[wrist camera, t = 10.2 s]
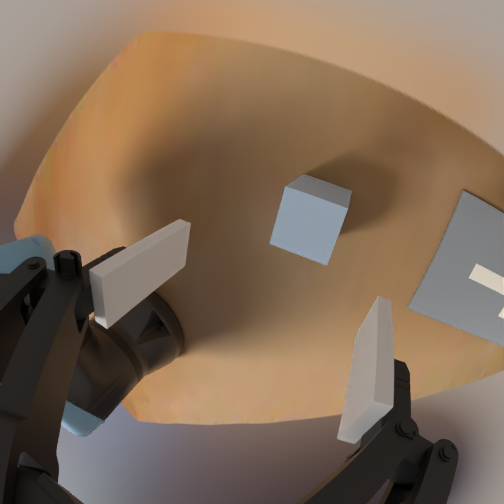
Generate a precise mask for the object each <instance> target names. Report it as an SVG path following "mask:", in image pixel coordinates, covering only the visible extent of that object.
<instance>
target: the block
mask: <svg viewBox="0 0 504 504" xmlns="http://www.w3.org/2000/svg"><path fill="white" fill-rule="evenodd" d="M351 193H352V191H351V190H348V189H345V188H343V187H340V186H337V185H334V184H332V183H329V182H326V181H323V180H320V179H317V178H314V177H312V176H309V175H306V174H302V175H301V176H299V177H298V178H296V179H295V180H294V181H292V182H291V183H289V184H288V185H286V186H285V189H284V193H283V196H282V200H281V203H280V207H279V211H278V214H277V218H276V221H275V225H274V229H273V232H272V236H271V239H270V243H269V244H271V245H274V246H277V247H279V248H282V249H284V250H287V251H290V252H292V253H295V254H297V255H300V256H303V257H305V258H308V259H310V260H313V261H316V262H318V263H321V264H323V265H326V266H327V264H328V261H329V259H330V256H331V254H332V251H333V249H334V246H335V243H336V241H337V238H338V235H339V233H340V230H341V227H342V225H343V222H344V219H345V216H346V213H347V211H348V207H349V203H350V198H351Z"/></svg>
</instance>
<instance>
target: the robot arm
mask: <svg viewBox="0 0 504 504" xmlns="http://www.w3.org/2000/svg"><path fill="white" fill-rule="evenodd" d="M190 227H191V223H189V222H186V221H184V220H181V219H178V220H176V221H174V222H172V223H171V224H169V225H167V226H165V227H163V228H161V229H159V230H158V231H156V232H154V233H152V234H150V235H149V236H147V237H145V238H143V239H141V240H140V241H138V242H136V243H134V244H132V245H131V246H129V247H127V248H126V247H124V246H123V247H119V248H115V249H113V250H111V251H109V252H107V253H106V254H104V255H102V256H100V258H97V259H95V260H93V261H92V262H90V263H88V264H87V265H85V266H83V267H82V262H81V256H80V254H79V253H78V252H76V251H73V250H64V251H60V252H58V253H56V251H55V248H54V246H53V243H52V242H51V240H50V239H49V238H48V237H47V236H45V235H41V234H38V235H34V236H30V237H27V238H24V239H20V240H17V241H14V242H11V243H8V244H5V245H3V246H0V383H1V384H0V504H84V503H82V502H81V501H80V500H78V499H77V498H76V497H75V496H74V495H72V494H71V493H70V492H69V491H68V490H66V489H65V488H63V487H62V486H61V485H59V484H58V475H59V464H58V460H57V456H56V450H57V443H58V438H59V432H60V427H61V425H62V426H63V427H65V428H66V429H67V430H68V431H70V432H71V433H73V434H75V435H77V436H82V437H84V436H88V435H89V434H91V433H92V432H93V431H94V430H95V429H96V428H97V427H98V426H99V425H101V424H103V423H104V422H105V421H104V420H105V419H106V418H107V417H108V416H109V415H110V414H111V413H112V411H113V410H114V409H115V408H116V407H117V406H118V405H119V404H120V403H121V401H122V400H123V399H124V398H125V397H126V396H127V395H128V394H129V393H130V391H131V390H132V389H133V388H134V387H135V386H136V385H137V384H138V382H139V381H140V380H141V379H142V378H143V377H144V376H146V375H148V374H150V373H152V372H154V371H156V370H158V369H160V368H162V367H164V366H166V365H168V364H170V363H171V362H172V361H173V360H174V359H175V358H176V357H177V356H178V355H179V353H180V352H181V351H182V348H183V344H184V338H183V332H182V329H181V326H180V324H179V321H178V320H177V318H176V316H175V314H174V313H173V311H172V310H171V309H170V307H169V306H168V305H167V304H166V303H165V301H164V300H163V299H162V298H161V297H159V296H158V295H157V294H156V293H155V292H153V291H154V290H156V289H157V288H158V287H159V286H161V285H162V284H163V283H164V282H166V281H167V280H168V279H169V278H171V277H172V276H173V275H174V274H176V273H177V272H178V271H179V270H181V269H182V268H183V267H185V264H186V256H187V248H188V241H189V234H190ZM93 311H94V316H93V317H92V319H90V320H89V314H91V313H92V312H93ZM418 430H419V429H418V427H417V424H416V423H415V422H414V421H413V419H412V418H411V395H410V372H409V370H408V368H407V366H406V363H405V362H402V361H399V360H396V359H394V344H393V322H392V308H391V300H388V299H385V298H383V297H380V296H377V298H376V299H375V301H374V303H373V305H372V307H371V309H370V311H369V312H368V314H367V316H366V318H365V320H364V321H363V323H362V325H361V327H360V328H359V330H358V332H357V334H356V335H355V342H354V349H353V356H352V363H351V369H350V376H349V382H348V387H347V393H346V398H345V403H344V409H343V413H342V419H341V423H340V428H339V432H338V437H337V439H339V440H342V441H346V442H350V443H353V444H355V443H356V442H357V441H358V440H359V439H360V438H361V437H362V439H361V444H360V447H359V448H358V449H357V450H355V451H354V452H353V453H352V454H351V455H349V456H348V457H347V459H346V460H345V461H344V462H343V463H342V464H341V465H340V466H339V467H338V468H337V469H335V470H334V471H333V472H332V473H331V474H330V475H329V476H327V477H326V478H325V479H324V480H323V481H322V482H320V483H319V484H318V485H317V486H316V487H315V488H313V489H312V490H311V491H310V492H308V493H307V494H306V495H304V496H303V497H302V498H301V499H299V500H298V501H297V502H295V503H294V504H366V503H367V502H368V501H369V500H370V499H371V498H372V497H373V496H374V495H375V494H376V492H377V491H378V490H379V489H380V488H381V486H382V485H383V484H384V483H385V482H386V480H387V479H390V481H389V484H388V486H387V488H386V490H385V492H384V494H383V496H382V498H381V500H380V502H379V504H446V503H447V499H448V496H449V493H450V489H451V486H452V482H453V479H454V475H455V471H456V467H457V462H458V451H457V448H456V447H455V445H454V444H453V443H452V442H451V441H450V440H446V439H441V440H439V441H437V442H436V443H435V444H433V443H431V442H430V441H428V440H426V439H425V438H423V437H421V436H420V435H419V431H418ZM18 465H19V467H18Z"/></svg>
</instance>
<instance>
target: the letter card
mask: <svg viewBox="0 0 504 504" xmlns="http://www.w3.org/2000/svg"><path fill="white" fill-rule="evenodd" d="M407 309H409V310H412V311H414V312H417V313H420V314H422V315H425V316H427V317H430V318H432V319H435V320H437V321H440V322H442V323H445V324H448V325H450V326H453V327H455V328H458V329H460V330H463V331H465V332H468V333H470V334H473V335H475V336H478V337H480V338H483V339H485V340H488V341H490V342H493V343H496V344H498V345H501V346H503V347H504V213H503V212H501V211H499V210H498V209H496V208H494V207H493V206H491V205H489V204H487V203H486V202H484V201H482V200H480V199H479V198H477V197H475V196H473V195H471V194H469V193H468V192H466V191H464V190H462V192H461V195H460V197H459V200H458V203H457V205H456V208H455V210H454V213H453V215H452V218H451V220H450V222H449V225H448V227H447V229H446V232H445V234H444V236H443V238H442V240H441V243H440V245H439V247H438V249H437V251H436V253H435V255H434V257H433V259H432V261H431V263H430V265H429V267H428V269H427V271H426V273H425V275H424V277H423V279H422V281H421V283H420V284H419V286H418V288H417V290H416V292H415V294H414V295H413V297H412V299H411V301H410V302H409V304H408V306H407Z"/></svg>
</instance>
